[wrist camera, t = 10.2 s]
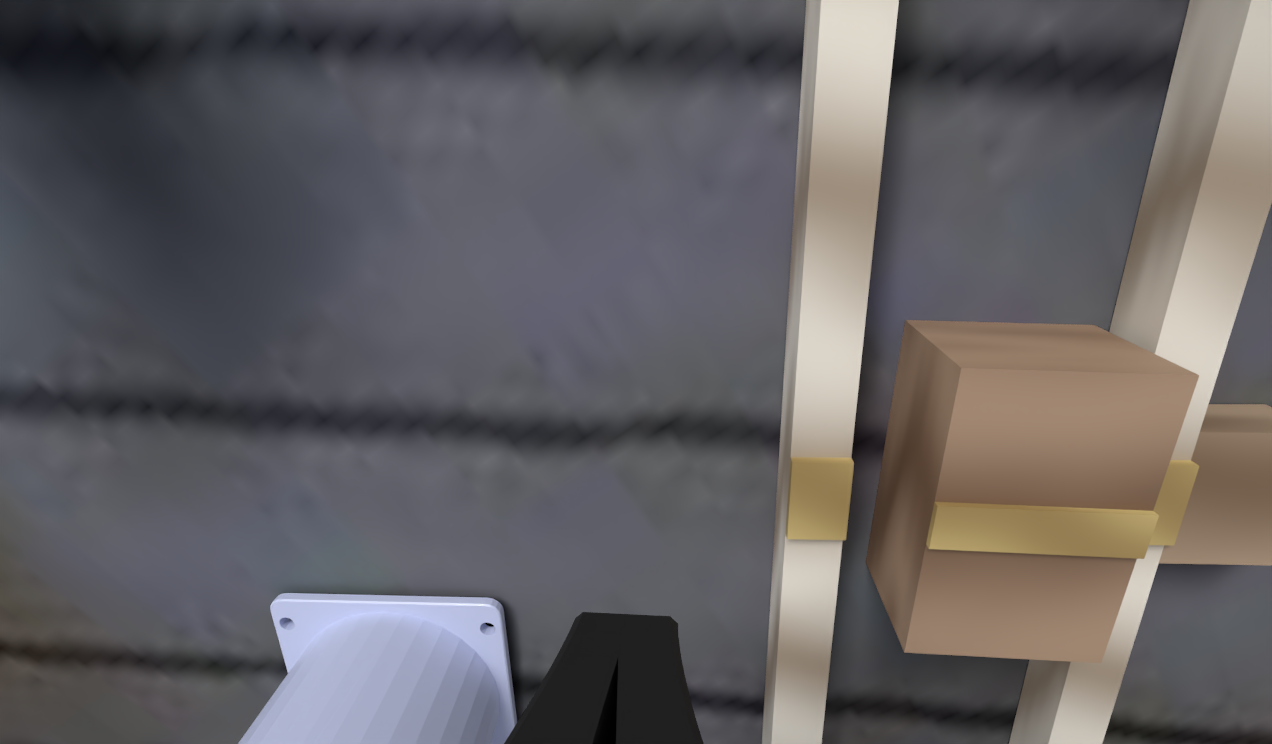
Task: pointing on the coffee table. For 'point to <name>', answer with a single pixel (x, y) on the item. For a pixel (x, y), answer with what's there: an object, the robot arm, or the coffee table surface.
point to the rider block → (1019, 485)
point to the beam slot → (1144, 315)
